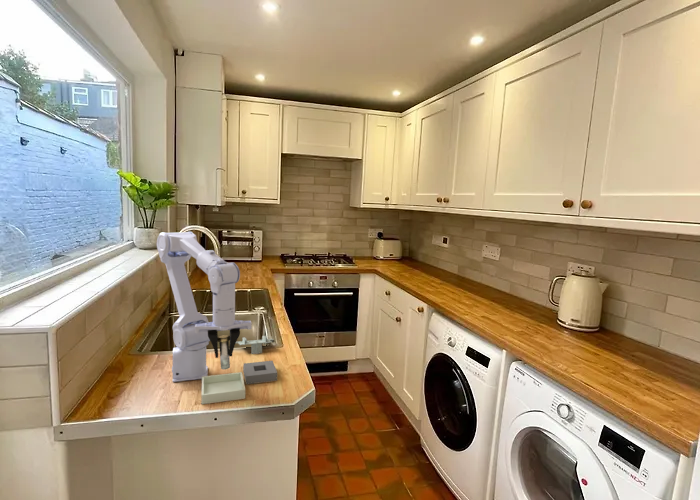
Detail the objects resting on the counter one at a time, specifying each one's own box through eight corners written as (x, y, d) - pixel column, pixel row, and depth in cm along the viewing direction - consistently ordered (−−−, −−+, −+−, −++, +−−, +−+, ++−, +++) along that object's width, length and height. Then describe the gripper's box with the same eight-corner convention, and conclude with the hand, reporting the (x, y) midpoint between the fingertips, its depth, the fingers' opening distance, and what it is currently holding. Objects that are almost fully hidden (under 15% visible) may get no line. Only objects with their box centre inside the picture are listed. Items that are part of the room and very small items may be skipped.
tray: (201, 404, 97) (201, 395, 97) (202, 384, 107) (202, 376, 107) (245, 398, 101) (245, 389, 100) (241, 380, 111) (241, 372, 111)
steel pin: (219, 371, 101) (217, 340, 100) (219, 365, 104) (217, 335, 103) (231, 369, 102) (229, 338, 101) (231, 364, 105) (229, 334, 104)
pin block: (246, 384, 109) (246, 376, 108) (243, 371, 117) (243, 363, 117) (277, 380, 112) (277, 372, 111) (272, 367, 120) (272, 360, 120)
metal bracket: (278, 336, 133) (234, 339, 128) (278, 353, 133) (234, 357, 127) (271, 334, 147) (231, 337, 141) (271, 349, 146) (231, 353, 140)
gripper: (194, 313, 95) (194, 364, 96) (253, 310, 100) (252, 358, 102) (195, 306, 101) (195, 354, 103) (250, 303, 107) (249, 349, 108)
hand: (223, 355), depth 103 cm, fingers closed on steel pin, 3 cm apart
